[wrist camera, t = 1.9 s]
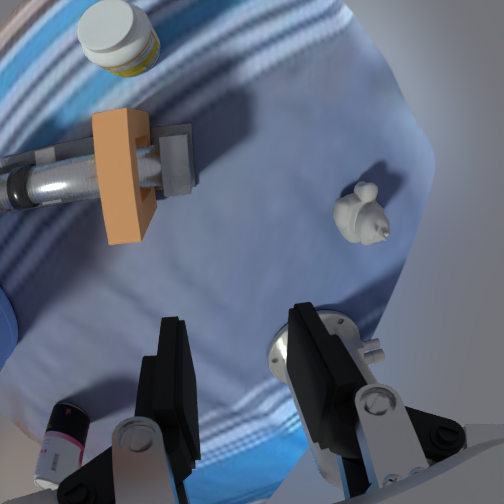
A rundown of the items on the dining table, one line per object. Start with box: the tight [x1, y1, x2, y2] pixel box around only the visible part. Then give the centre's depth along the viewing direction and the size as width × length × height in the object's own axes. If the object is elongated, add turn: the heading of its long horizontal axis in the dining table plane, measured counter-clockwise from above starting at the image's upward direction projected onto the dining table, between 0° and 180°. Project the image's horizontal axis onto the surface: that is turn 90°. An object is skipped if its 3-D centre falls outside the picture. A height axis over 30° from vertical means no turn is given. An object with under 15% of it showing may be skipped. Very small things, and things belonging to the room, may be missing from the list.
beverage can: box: [34, 403, 90, 490], centre depth 32 cm, size 7×6×15 cm
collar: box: [92, 108, 157, 245], centre depth 22 cm, size 2×9×9 cm, turn 1°
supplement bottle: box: [77, 0, 161, 78], centre depth 18 cm, size 5×5×10 cm
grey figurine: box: [333, 181, 390, 245], centre depth 29 cm, size 5×7×8 cm
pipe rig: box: [0, 123, 196, 217], centre depth 23 cm, size 21×6×7 cm, turn 91°
